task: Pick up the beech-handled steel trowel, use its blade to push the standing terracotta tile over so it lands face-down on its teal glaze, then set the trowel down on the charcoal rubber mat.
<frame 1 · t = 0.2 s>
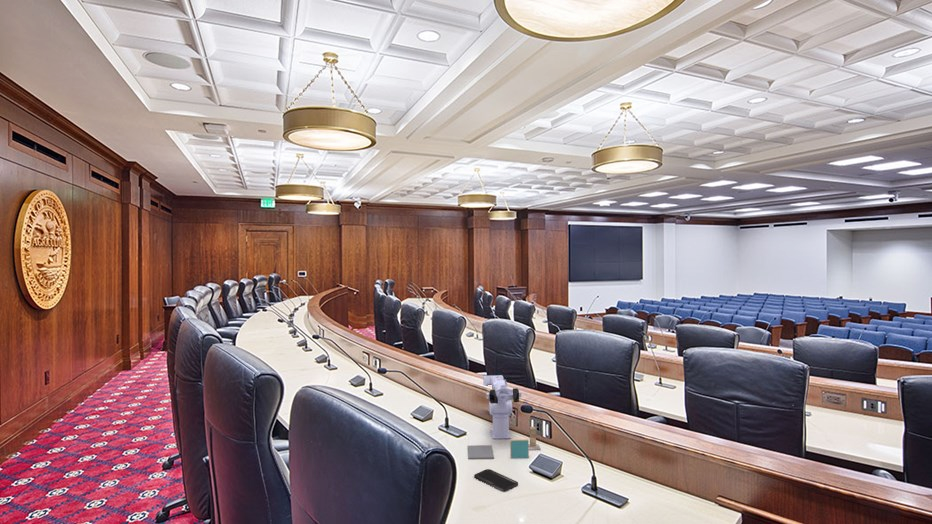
hand: (506, 400, 179), 21 cm above the table, tool horizontal, fingers open, 7 cm apart
tile: (519, 457, 175), on the table
trowel: (532, 447, 185), on the table
phone: (495, 482, 156), on the table
mat: (480, 452, 180), on the table
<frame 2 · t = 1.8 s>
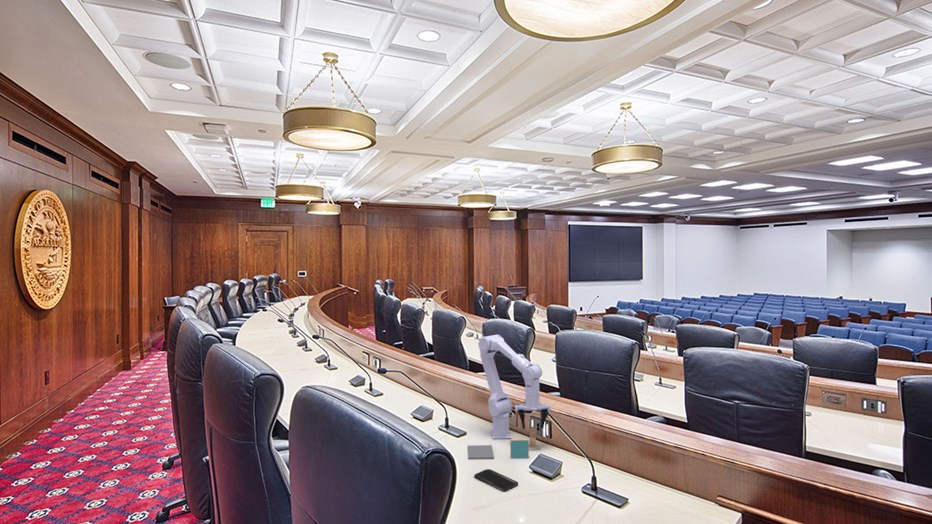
hand: (532, 428, 185), 8 cm above the table, tool pointing down, fingers open, 7 cm apart
nothing on the table moved.
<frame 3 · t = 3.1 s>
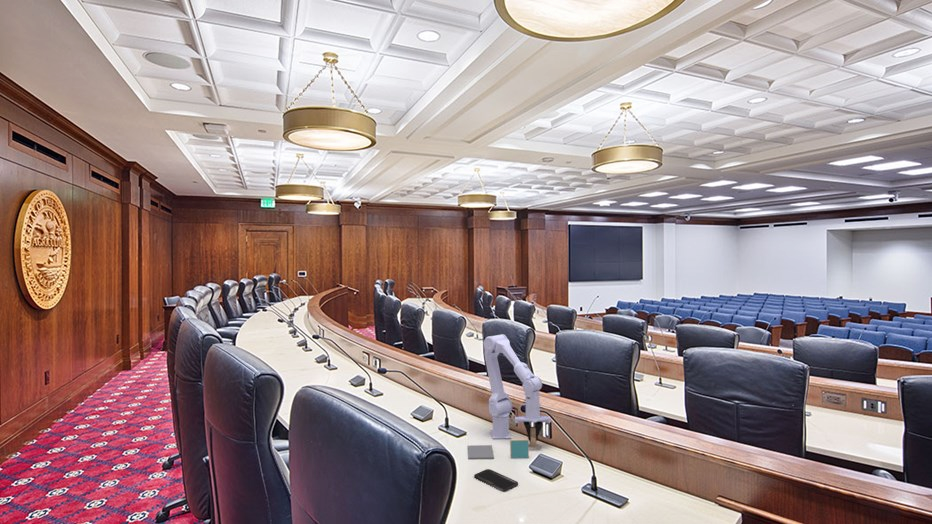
hand: (532, 439, 185), 3 cm above the table, tool pointing down, fingers closed on trowel, 2 cm apart
trowel: (532, 446, 185), on the table, touching gripper
everything else where it was.
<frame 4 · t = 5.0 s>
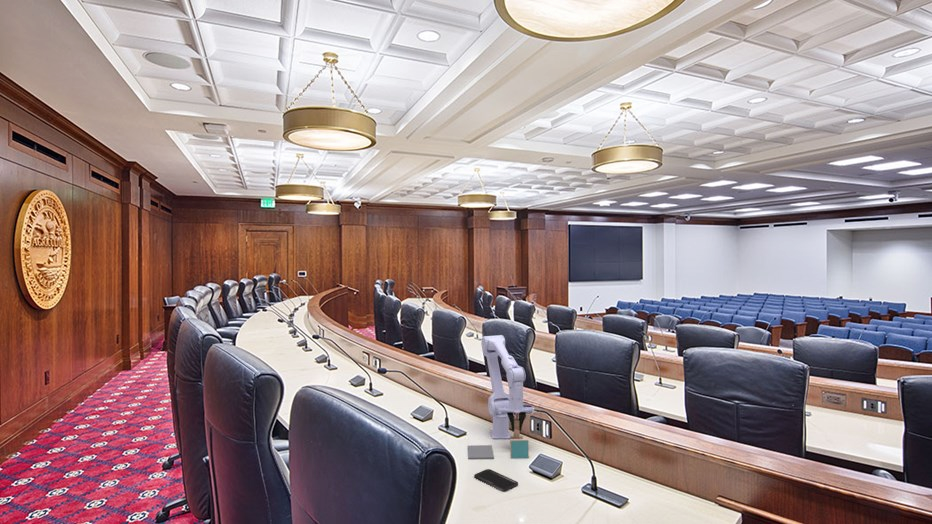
hand: (516, 430, 183), 7 cm above the table, tool pointing down, fingers closed on trowel, 2 cm apart
trowel: (516, 439, 183), point 4 cm above the table, touching gripper
everything else where it was.
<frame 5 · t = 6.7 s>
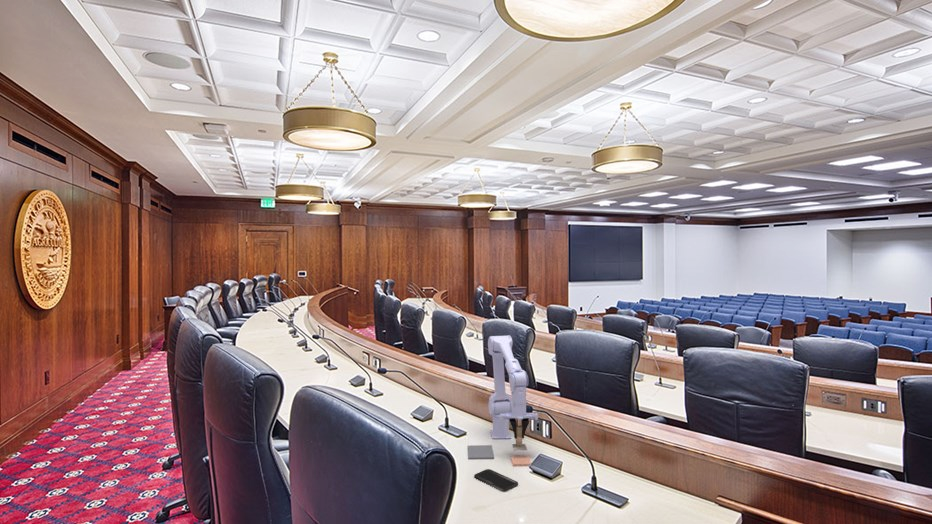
hand: (519, 437, 176), 7 cm above the table, tool pointing down, fingers closed on trowel, 2 cm apart
tile: (519, 457, 174), on the table, tilted 90°
trowel: (519, 446, 176), point 4 cm above the table, touching gripper
everything else where it was.
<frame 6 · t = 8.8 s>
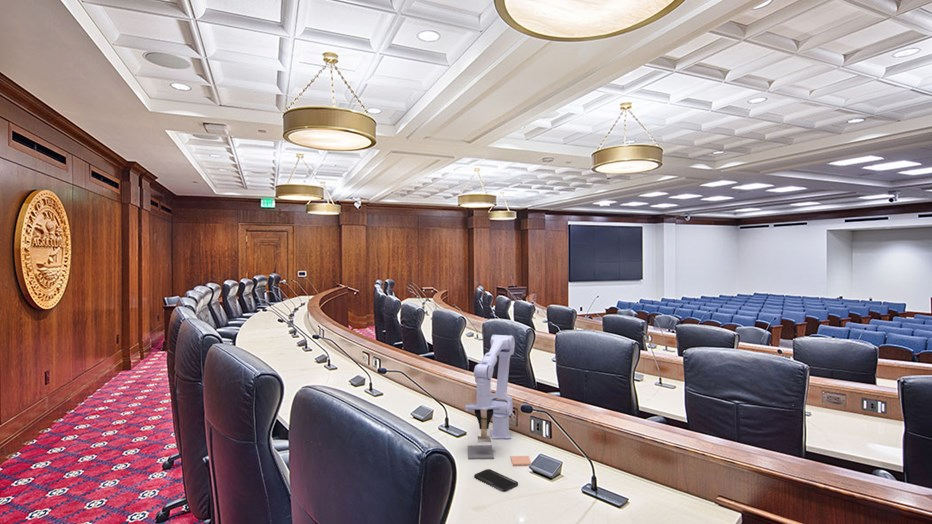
hand: (483, 428, 179), 10 cm above the table, tool pointing down, fingers closed on trowel, 2 cm apart
trowel: (484, 438, 180), point 6 cm above the table, touching gripper
everything else where it was.
when the fingers open (4 cm above the table, at t = 10.2 s): trowel stays where it is, resting on mat.
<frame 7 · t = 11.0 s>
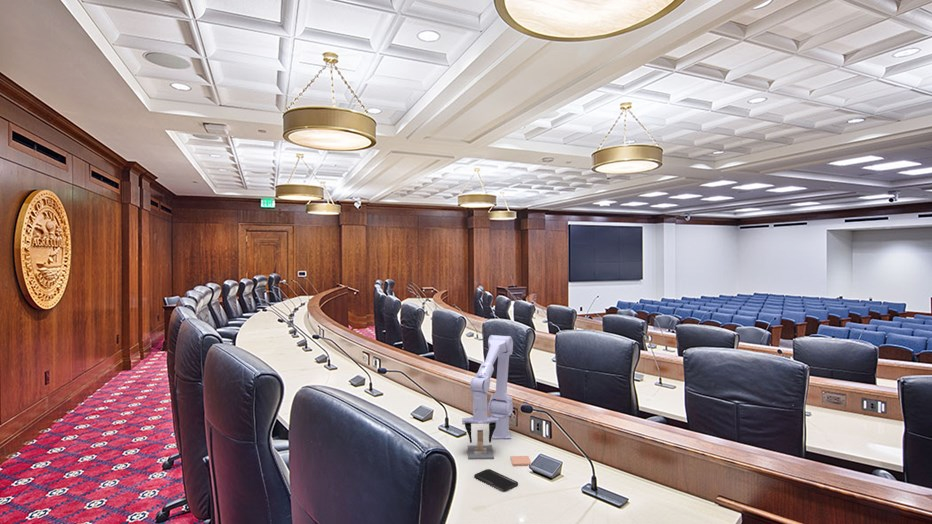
hand: (480, 441, 180), 4 cm above the table, tool pointing down, fingers open, 7 cm apart
trowel: (480, 451, 180), point 1 cm above the table, touching mat
everything else where it was.
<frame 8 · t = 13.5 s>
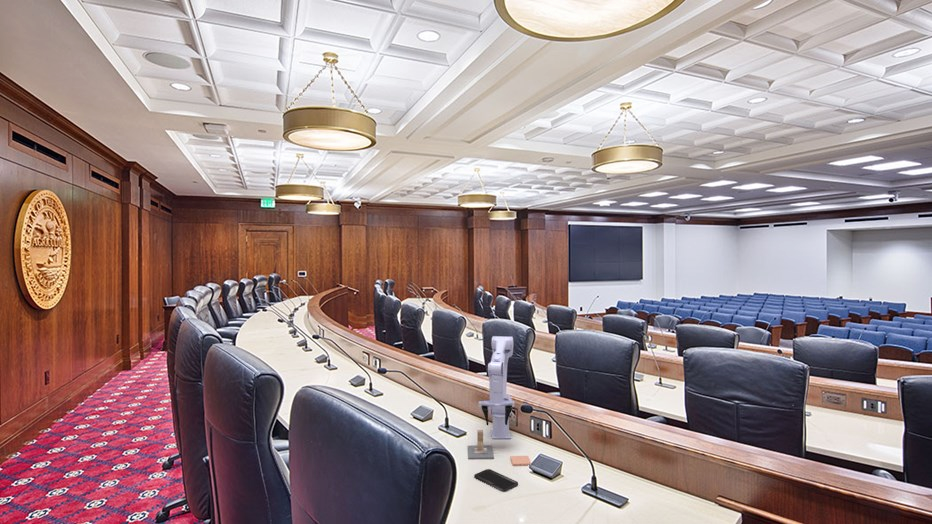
hand: (496, 424, 184), 10 cm above the table, tool pointing down, fingers open, 7 cm apart
nothing on the table moved.
at the end: tile tilted 90°; trowel inside the target area on the mat (0.1 cm from its centre), point 0.6 cm above the mat's base; the gripper is holding nothing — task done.
